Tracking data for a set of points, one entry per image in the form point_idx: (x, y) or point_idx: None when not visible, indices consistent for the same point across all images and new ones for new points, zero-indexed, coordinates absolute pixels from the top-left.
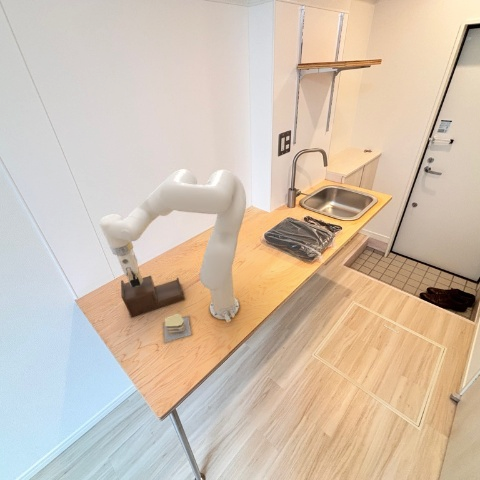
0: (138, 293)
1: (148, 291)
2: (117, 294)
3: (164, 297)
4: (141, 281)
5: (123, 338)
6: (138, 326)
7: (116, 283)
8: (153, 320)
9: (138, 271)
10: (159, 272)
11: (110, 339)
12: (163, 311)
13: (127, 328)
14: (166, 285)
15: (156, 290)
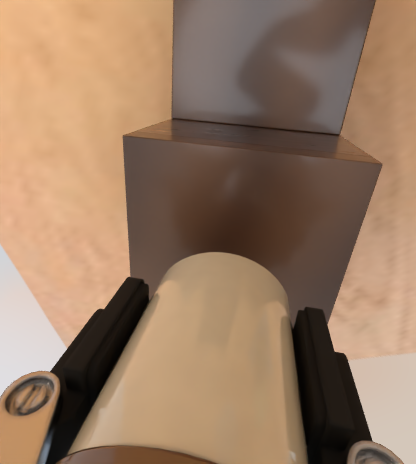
0: (313, 289)
1: (354, 212)
2: (113, 289)
3: (332, 73)
4: (270, 286)
5: (388, 318)
6: (372, 257)
7: (42, 280)
8: (394, 184)
9: (253, 455)
10: (8, 54)
11: (352, 352)
12: (372, 113)
13: (345, 296)
14: (204, 21)
15: (218, 117)
